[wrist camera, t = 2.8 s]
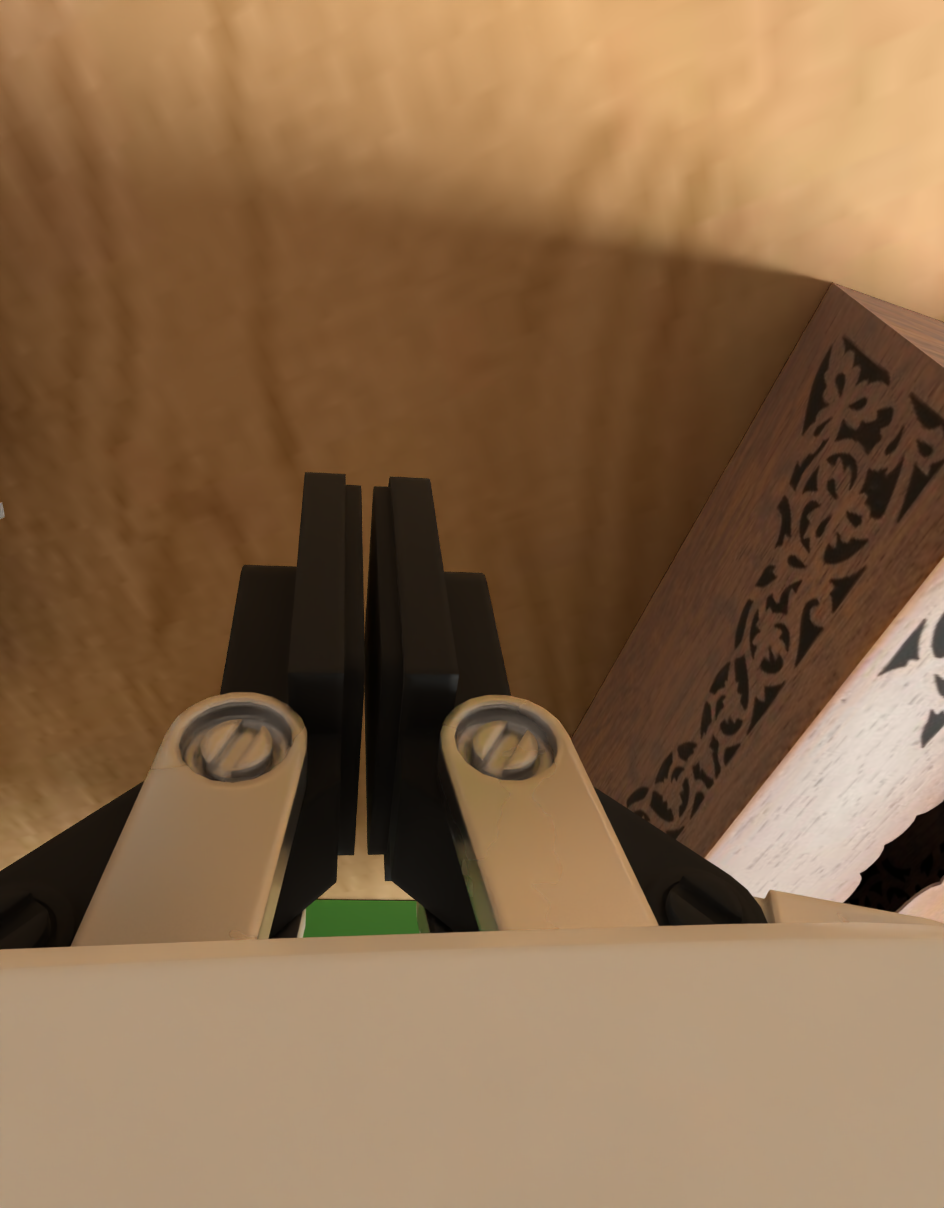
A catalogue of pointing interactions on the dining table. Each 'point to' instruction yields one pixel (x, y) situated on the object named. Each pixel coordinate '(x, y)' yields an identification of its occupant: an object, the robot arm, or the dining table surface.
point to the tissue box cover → (804, 635)
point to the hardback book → (360, 918)
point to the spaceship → (1, 511)
